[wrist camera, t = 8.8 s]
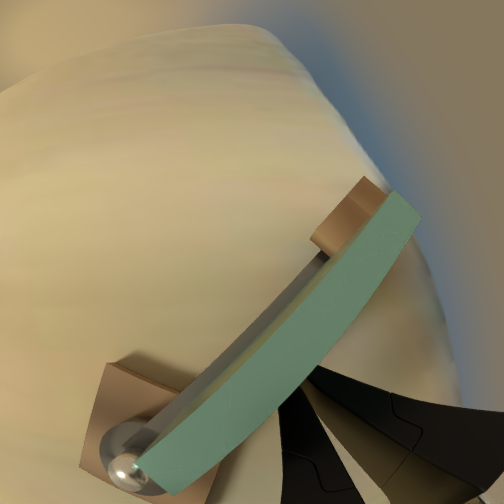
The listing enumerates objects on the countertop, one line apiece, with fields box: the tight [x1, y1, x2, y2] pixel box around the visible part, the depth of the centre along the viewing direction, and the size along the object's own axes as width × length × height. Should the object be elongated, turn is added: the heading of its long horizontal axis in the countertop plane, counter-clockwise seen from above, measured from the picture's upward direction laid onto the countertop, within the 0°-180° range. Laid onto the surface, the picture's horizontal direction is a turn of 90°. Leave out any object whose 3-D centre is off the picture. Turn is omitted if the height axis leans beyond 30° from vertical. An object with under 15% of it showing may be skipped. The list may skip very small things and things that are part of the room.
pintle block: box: [79, 363, 221, 504], centre depth 13 cm, size 8×8×1 cm
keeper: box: [310, 176, 388, 258], centre depth 16 cm, size 5×4×5 cm
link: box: [99, 190, 422, 497], centre depth 10 cm, size 19×4×10 cm, turn 136°
